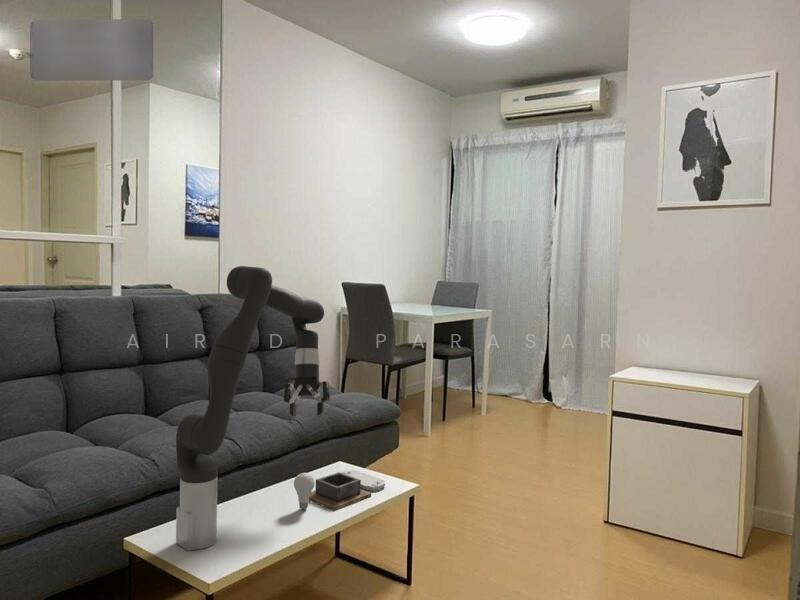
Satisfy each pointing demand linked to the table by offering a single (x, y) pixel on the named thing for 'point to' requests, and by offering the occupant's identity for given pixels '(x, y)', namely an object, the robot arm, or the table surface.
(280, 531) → the table surface
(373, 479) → the game console
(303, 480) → the lightbulb
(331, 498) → the holder
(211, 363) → the robot arm
